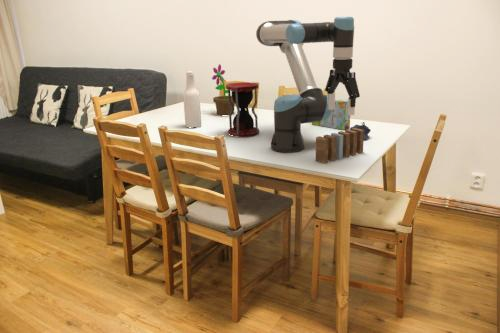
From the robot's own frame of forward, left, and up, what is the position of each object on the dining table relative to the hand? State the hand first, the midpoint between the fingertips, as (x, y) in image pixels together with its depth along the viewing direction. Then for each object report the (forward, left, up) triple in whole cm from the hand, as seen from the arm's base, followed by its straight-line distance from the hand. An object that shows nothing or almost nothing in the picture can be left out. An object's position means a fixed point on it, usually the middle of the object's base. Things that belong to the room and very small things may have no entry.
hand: (340, 112), depth 179 cm
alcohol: (-84, +38, -19) cm, 94 cm away
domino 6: (+6, +9, -19) cm, 22 cm away
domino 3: (-1, -1, -19) cm, 19 cm away
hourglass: (-52, +29, -19) cm, 63 cm away
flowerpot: (-78, +71, -19) cm, 107 cm away
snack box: (-11, +52, -19) cm, 57 cm away
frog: (+5, +32, -19) cm, 37 cm away
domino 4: (+1, +2, -19) cm, 19 cm away
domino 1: (-6, -8, -19) cm, 21 cm away
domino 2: (-4, -4, -19) cm, 20 cm away
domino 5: (+4, +6, -19) cm, 20 cm away
